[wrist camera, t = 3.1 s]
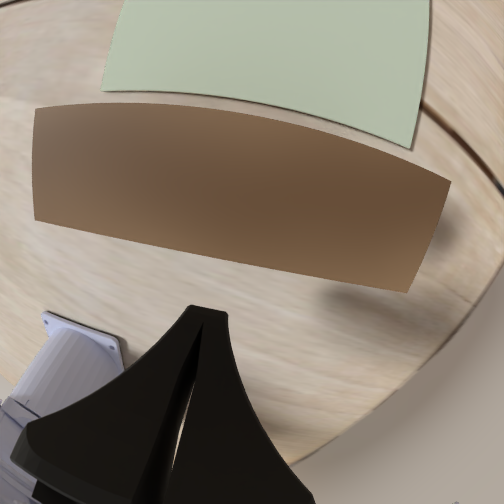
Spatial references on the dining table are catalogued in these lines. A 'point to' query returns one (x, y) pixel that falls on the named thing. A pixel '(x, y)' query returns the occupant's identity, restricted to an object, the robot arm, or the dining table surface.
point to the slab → (236, 190)
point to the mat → (281, 56)
